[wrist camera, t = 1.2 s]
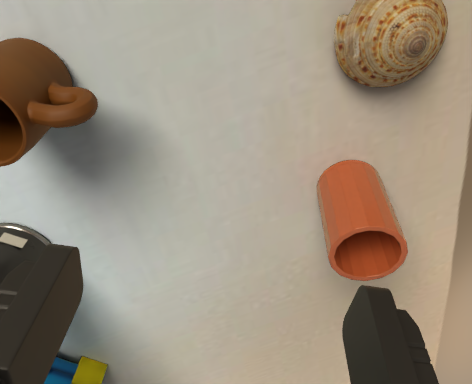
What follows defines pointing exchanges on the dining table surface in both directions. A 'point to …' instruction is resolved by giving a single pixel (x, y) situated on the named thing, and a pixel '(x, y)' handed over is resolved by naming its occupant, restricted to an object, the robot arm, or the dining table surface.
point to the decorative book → (76, 372)
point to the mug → (36, 97)
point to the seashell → (389, 39)
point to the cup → (359, 222)
